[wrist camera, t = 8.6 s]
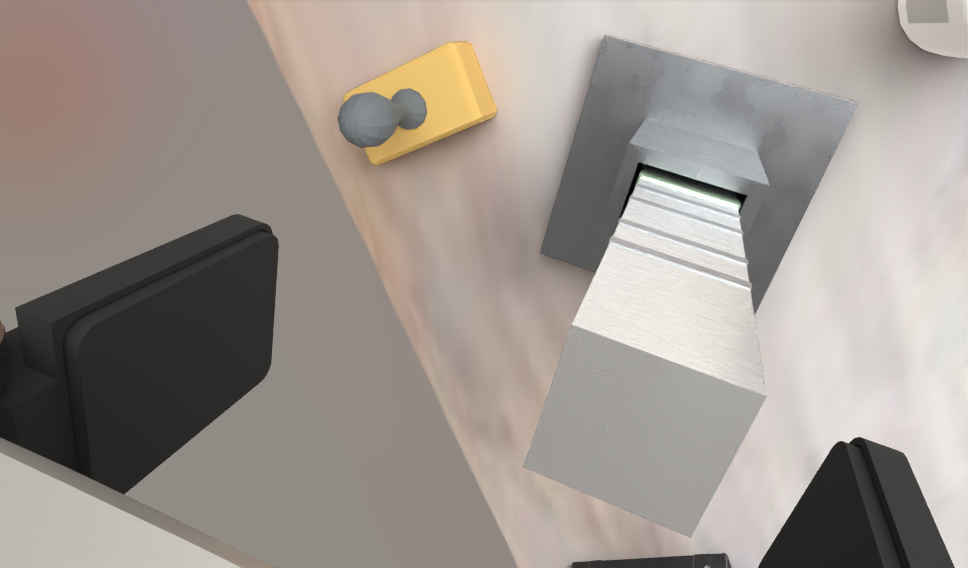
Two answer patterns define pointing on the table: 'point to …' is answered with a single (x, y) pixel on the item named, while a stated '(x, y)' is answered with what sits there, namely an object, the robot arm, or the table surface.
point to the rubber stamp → (417, 103)
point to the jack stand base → (694, 149)
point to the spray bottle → (936, 25)
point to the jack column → (658, 359)
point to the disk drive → (662, 562)
